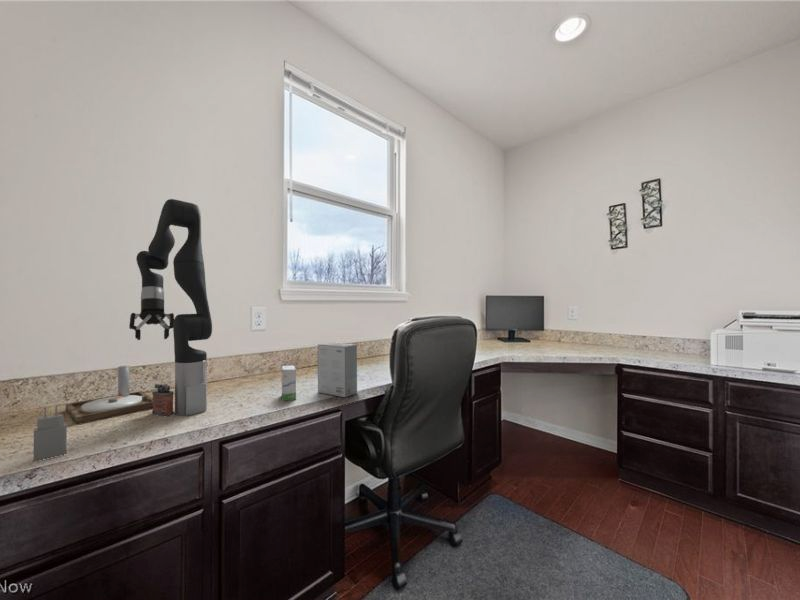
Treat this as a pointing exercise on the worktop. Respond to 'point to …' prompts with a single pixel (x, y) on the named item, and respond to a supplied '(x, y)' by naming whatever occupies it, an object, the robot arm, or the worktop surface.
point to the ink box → (288, 383)
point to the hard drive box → (337, 369)
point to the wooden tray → (81, 417)
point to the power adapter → (50, 436)
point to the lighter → (162, 400)
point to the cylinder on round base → (117, 401)
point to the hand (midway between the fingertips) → (152, 339)
